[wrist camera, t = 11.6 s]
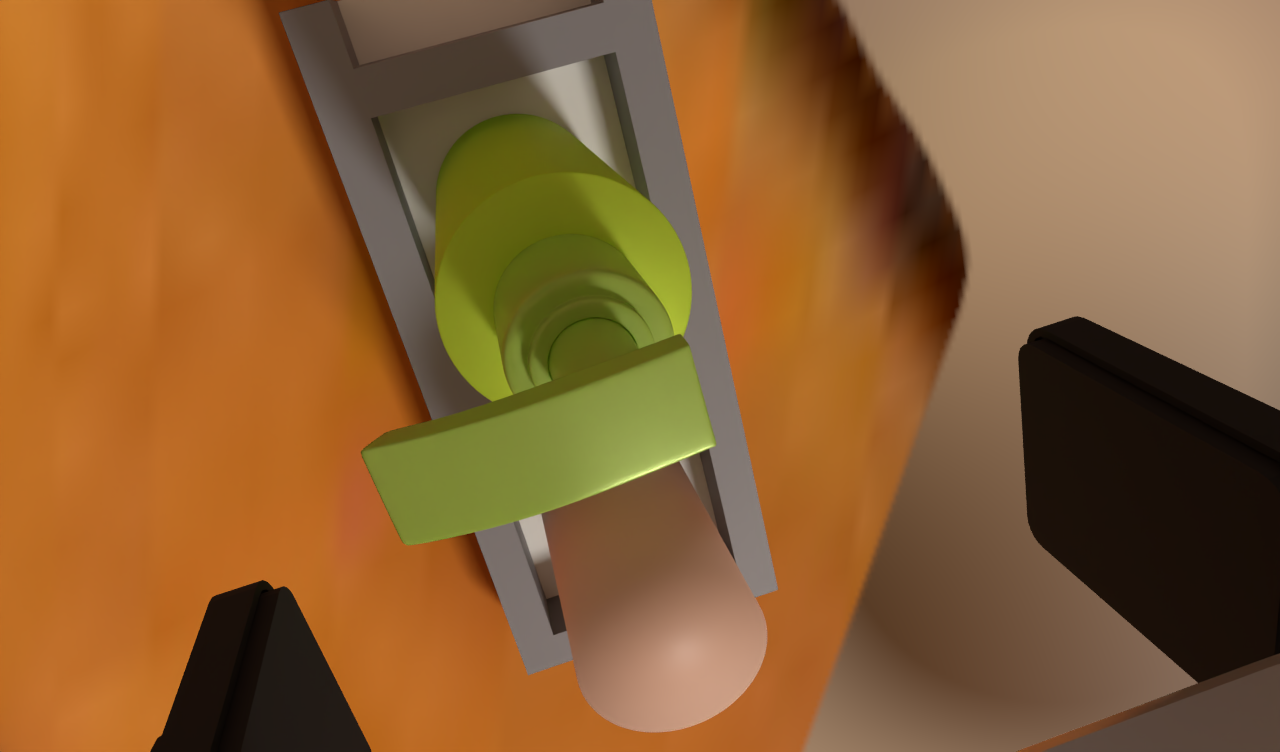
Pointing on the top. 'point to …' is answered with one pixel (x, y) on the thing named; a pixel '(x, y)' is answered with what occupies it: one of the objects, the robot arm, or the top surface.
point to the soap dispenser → (545, 338)
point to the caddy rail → (529, 548)
